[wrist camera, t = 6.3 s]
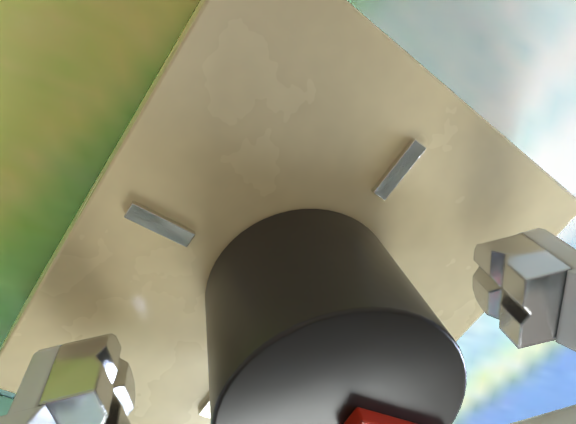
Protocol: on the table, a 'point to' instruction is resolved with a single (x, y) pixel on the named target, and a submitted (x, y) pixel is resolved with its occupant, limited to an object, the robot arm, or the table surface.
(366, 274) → the knob
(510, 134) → the table surface
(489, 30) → the table surface
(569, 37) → the table surface
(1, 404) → the green push button box
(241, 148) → the panel
